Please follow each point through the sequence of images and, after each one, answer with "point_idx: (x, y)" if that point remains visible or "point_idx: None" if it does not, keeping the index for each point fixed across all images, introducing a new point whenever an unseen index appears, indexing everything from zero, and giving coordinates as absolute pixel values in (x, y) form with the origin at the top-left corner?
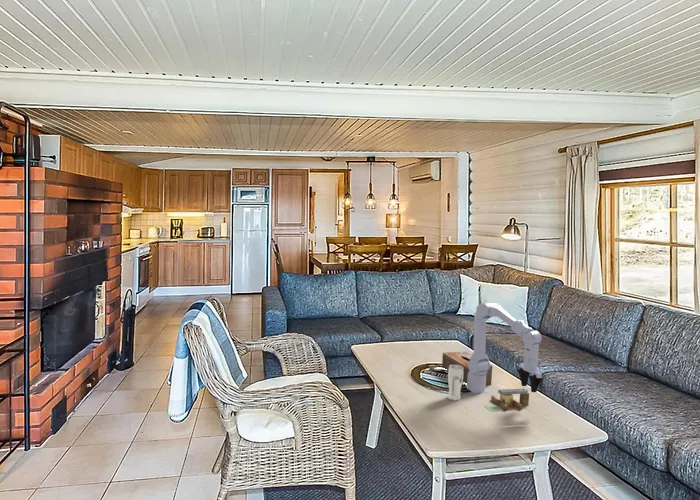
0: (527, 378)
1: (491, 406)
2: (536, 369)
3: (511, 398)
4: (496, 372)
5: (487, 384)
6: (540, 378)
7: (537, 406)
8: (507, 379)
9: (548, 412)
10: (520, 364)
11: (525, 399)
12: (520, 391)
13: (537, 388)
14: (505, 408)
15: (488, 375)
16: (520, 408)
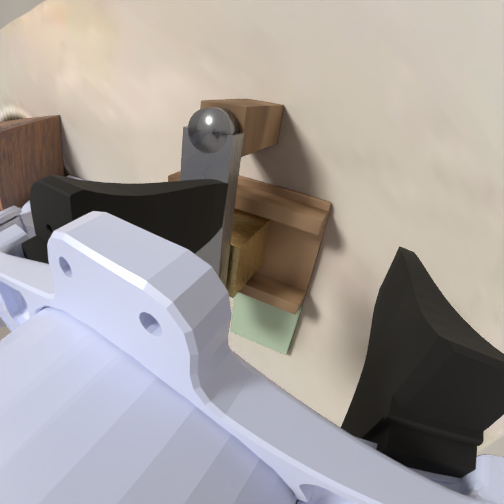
0: (171, 199)
1: (245, 315)
2: (281, 501)
3: (247, 248)
4: (14, 38)
5: (58, 132)
6: (487, 421)
7: (308, 53)
8: (43, 24)
9: (413, 66)
10: (6, 316)
11: (262, 133)
12: (227, 194)
13: (426, 273)
14: (299, 306)
15: (27, 139)
16: (324, 221)
